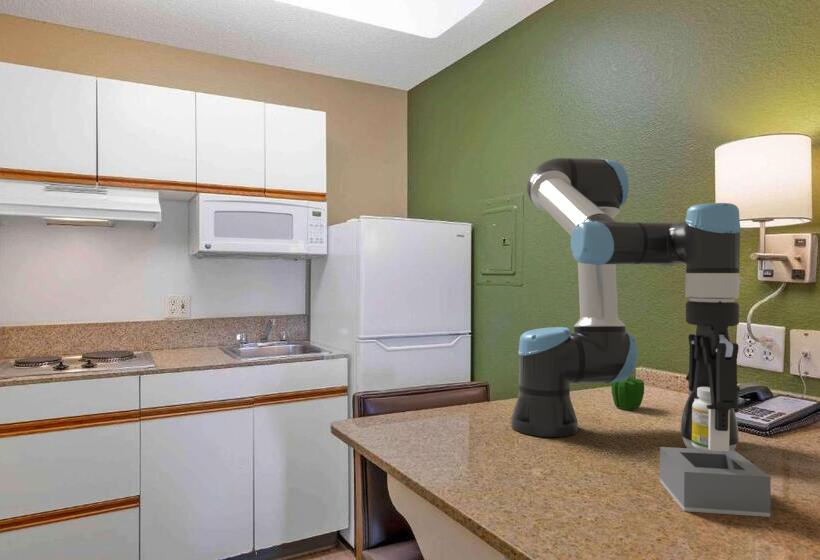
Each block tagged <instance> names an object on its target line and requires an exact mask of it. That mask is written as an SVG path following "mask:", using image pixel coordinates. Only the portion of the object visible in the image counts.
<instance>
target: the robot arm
mask: <svg viewBox="0 0 820 560" xmlns="http://www.w3.org/2000/svg"><path fill="white" fill-rule="evenodd" d="M629 191H630V182H629V176H628V173H627V170H626V168H625V167H624V165H622V164H621V163H620V162H619V161H618V160H615V159H606V158H602V157H598V158H577V157H575V158H574V157H572V158H567V157H556V158H551V159H548V160H546V161H543V162H542V163H540V164H538V165H537V166H536V167H535V168H534V169H533V170H532V172H531V173H530V175H529V177H528V180H527V183H526V192H527V197H528V198H529V200H530V202H532V204H533V205H534V206H535V207H536V208H537V209H539V210H541V211H544V212H547V213H548V214H549V215H550V216H551V217H552V218H553V219H554V220H555V221H556V222H557V223H558V224H559V225H560V226H561V228H563V229H564V230H565V232H566V233H568V234H569V236H570V250H571V253H572V257H573V259H574V260H575V261H576V262H577V273H578V274H577V275H578V278H577V279H578V296H579V297H578V301H579V319H578V321H576V323H575V324H574V325H573V333H572V332H571V330H570V328H568V327H566V326H565V327H563V326H556V327H555V326H554V327H541V328H535V329H531V330H527V331H525V332H523V333H522V334H521V335H520V337H519V343H518V352H517V353H518V395H517V399H516V402H515V405H514V408H513V410H512V414H511V416H510V417H511V421H510V423H511V424H510V427H511V428H512V429H513V430H514V431H517V432H519V433H522V434H526V435H528V436H529V435H530V436H535V437H536V436H537V437H545V438H548V437H549V438H560V437H561V438H562V437H568V436H569V437H570V436H572V435H574V434H576V433H577V432H578V428H579V427H578V426H579V425H578V418H577V415H576V412H575V410H574V406H573V402H572V400H571V391H570V390H571V384H595V383H596V384H597V383H600V384H601V383H604V384H612V382H621V381H625V380H626V379H628V378H631V376H632V374H633V373H634V371H635V369H636V365H637V362H638V356H639V355H638V344H637V343H636V342H635V341H636V339H635V337H634V336H633V335H632V334H631V333H629V332H627V331H626V324H625V323H624V322H623V321H622V320H620V318H619V314H618V313H619V312H618V311H619V309H618V307H619V306H618V288H617V269H616V268H617V266H616V265H653V266H654V265H655V266H656V265H658V266H668V267H669V266H670V267H671V266H676V265H685V269H686V270H685V282H684V283H685V289H684V290H685V294H684V295H685V298H689V301H688V300H687V302H686V303H685V322H686V323H687V324H689V325H694V326H696V328H695V329H696V330H695V333H690V334H688V337H687V339H688V345H689V347H688V348H689V353H688V354H689V359H688V361H689V362H688V363H689V365H688V367H689V369H688V373H689V385H688V392H689V391H693V397H694V398H696V399H694V401H695V400H698V399H699V397H698V396H697V388H698V387H710V394H711V405H707V408H708V409H709V428H708V449H709V450H714V451H729V410H731V409H732V408H733V409H737V408H738V392H737V386H738V384H737V382H738V355H739V349H740V346H739V344H738V343H735V342H734V343H733V342H731V340H730V336H729V330H728V328H729V327H736V326H737V325H739V323H740V304H739V303H738V302H736V301H735V300H737V299H738V298H740V286H741V285H742V283H743V281H742V280H741V279H740V267H741V266H740V261H741V259H740V258H741V255H740V253H741V232H742V228H741V227H742V226H741V223H740V222H741V220H740V209H739V207H738V206H737V205H736V204H734V203H729V202H728V203H727V202H713V203H712V202H710V203H699V204H694V205H691V206H689V208H688V209H687V210H686V215H685V221H677V222H637V221H636V222H635V221H618V220H615V217H616V216H617V215H618V214H620V212H621V211H620V209H621V207H622V206H623V205H625V203H626V202H627V201H628V194H629Z"/></svg>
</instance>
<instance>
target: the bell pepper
mask: <svg viewBox="0 0 820 560" xmlns="http://www.w3.org/2000/svg"><path fill="white" fill-rule="evenodd" d="M611 395H612V400H613V403H614V405H615V407H616V408H619V409H623V410H626V411H636V410H638V409H639V408H640V406H641V405H642V403H643V398H644V395H645V385H644V381H643V380H642V379H638V378H637V379H636V378H633V377H629V378H628V379H626V380H625V381H621V382H612V383H611Z"/></svg>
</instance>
